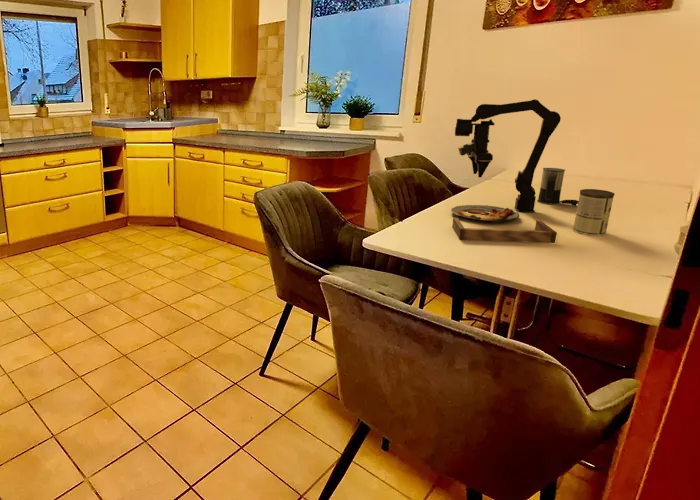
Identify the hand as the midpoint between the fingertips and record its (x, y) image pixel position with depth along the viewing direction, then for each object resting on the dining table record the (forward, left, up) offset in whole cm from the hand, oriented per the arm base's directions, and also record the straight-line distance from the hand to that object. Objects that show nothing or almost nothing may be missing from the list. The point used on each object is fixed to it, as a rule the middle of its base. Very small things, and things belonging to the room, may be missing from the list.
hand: (477, 175), depth 184 cm
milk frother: (-38, -10, -13) cm, 42 cm away
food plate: (0, +17, -13) cm, 22 cm away
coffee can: (-32, +34, -13) cm, 49 cm away
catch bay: (0, +41, -13) cm, 43 cm away
